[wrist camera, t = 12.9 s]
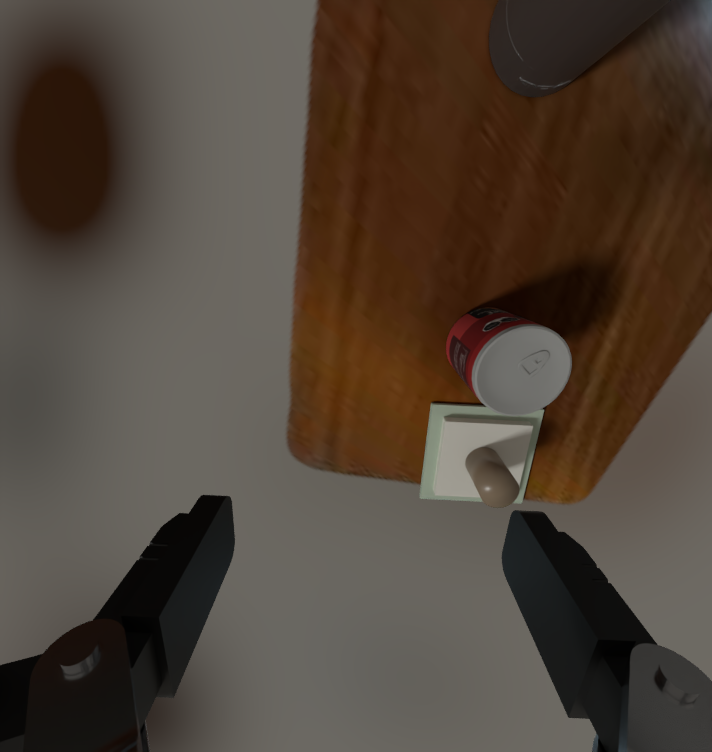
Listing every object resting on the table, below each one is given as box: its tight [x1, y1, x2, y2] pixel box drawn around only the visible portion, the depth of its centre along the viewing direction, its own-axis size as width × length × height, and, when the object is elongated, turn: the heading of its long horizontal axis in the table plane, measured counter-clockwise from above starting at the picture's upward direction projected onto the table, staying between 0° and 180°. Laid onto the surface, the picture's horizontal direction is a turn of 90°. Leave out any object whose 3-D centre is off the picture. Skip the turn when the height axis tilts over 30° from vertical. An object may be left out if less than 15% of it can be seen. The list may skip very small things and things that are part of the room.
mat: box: [419, 403, 544, 503], centre depth 43 cm, size 13×13×1 cm
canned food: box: [446, 307, 572, 416], centre depth 34 cm, size 8×8×11 cm
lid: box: [433, 417, 533, 508], centre depth 40 cm, size 10×10×7 cm
